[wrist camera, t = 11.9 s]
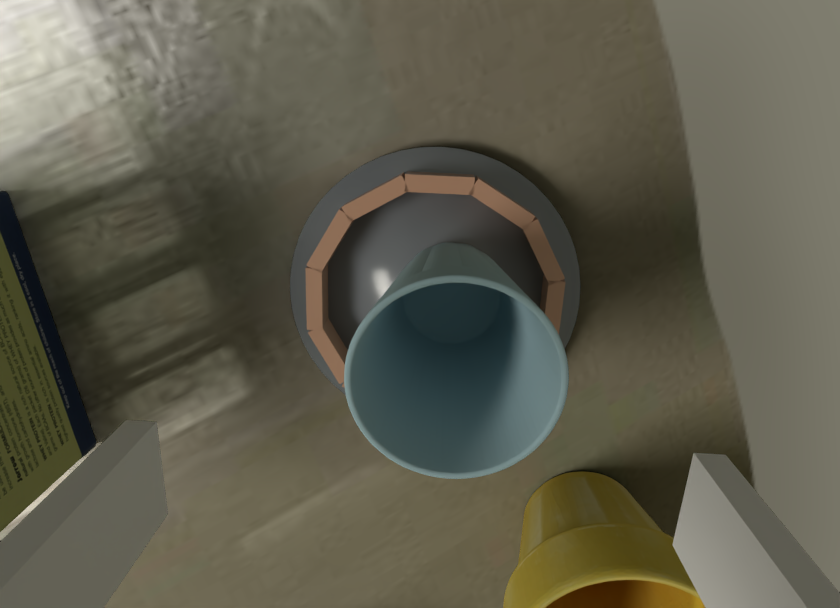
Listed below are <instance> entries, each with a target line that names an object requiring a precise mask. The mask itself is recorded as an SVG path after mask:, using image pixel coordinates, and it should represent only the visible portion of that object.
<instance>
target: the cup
mask: <svg viewBox="0 0 840 608" xmlns="http://www.w3.org/2000/svg"><path fill="white" fill-rule="evenodd" d="M568 382H569V373H568V362H567V356H566V353H565V349H564V347H563V344H562V341H561V339H560V336H559V334H558V332H557V330H556V329H555V327H554V325H553V324H552V322H551V321H550V320H549V318H548V317H547V316H546V315H545V313H544V312H543V311H542V310H541V309H540V308H539V307H538V306H537V305H536V304H535V303H534V302H533V301H532V300H531V299H530V298H529V297H528V296H527V295H526V294H525V293H524V292H523V291H522V290H521V289H520V288H519V286H518V285H517V284H516V283H515V282H514V281H513V280H512V279H511V278H510V277H509V276H508V275H507V274H506V273H505V272H504V271H503V270H502V269H501V268H500V267H499V266H498V265H497V264H496V262H495V261H494V260H492V259H491V258H490V257H489V256H488V255H487V254H485V253H484V252H482V251H480V250H478V249H476V248H475V247H473V246H471V245H468V244H463V243H452V242H445V243H440V244H437V245H435V246H432V247H429V248H426V249H424V250H422V251H421V252H419V253H418V254H417V255H416V256H415V257H414V259H413V260H412V261H410V262H409V263H408V264H407V266H406V267H405V268H404V269H403V270H402V272H401V273H400V274H399V276H398V277H397V278H396V279H395V281H394V282H393V283H392V284H391V286H390V287H389V288H388V289H387V291H386V292H385V293H384V295H383V296H382V297H381V298H380V299H379V300H378V302H377V303H376V304H375V305H374V307H373V308H372V309H371V310H370V312H369V313H368V314H367V315H366V317H365V318H364V319H363V321H362V322H361V324H360V325H359V327H358V328H357V330H356V332H355V334H354V336H353V338H352V340H351V343H350V345H349V349H348V352H347V356H346V361H345V369H344V386H345V393H346V398H347V402H348V405H349V408H350V411H351V413H352V416H353V418H354V420H355V422H356V424H357V425H358V427H359V428H360V430H361V431H362V433H363V434H364V436H365V437H366V438H367V439H368V440H369V442H370V443H371V444H372V445H373V446H374V447H375V448H377V449H378V450H379V451H380V452H381V453H382V454H384V455H385V456H386V457H388V458H389V459H391V460H392V461H394V462H395V463H397V464H399V465H401V466H403V467H405V468H407V469H409V470H412V471H415V472H418V473H421V474H424V475H428V476H433V477H438V478H448V479H463V478H474V477H480V476H484V475H488V474H492V473H495V472H498V471H501V470H503V469H505V468H508V467H510V466H512V465H514V464H516V463H517V462H519V461H520V460H522V459H524V458H525V457H526V456H528V455H529V454H530V453H532V452H533V451H534V450H535V449H536V448H537V447H538V446H539V445H540V444H541V443H542V442H543V441H544V440H545V439H546V438H547V436H548V435H549V434H550V432H551V431H552V429H553V428H554V426H555V425H556V423H557V421H558V419H559V417H560V415H561V413H562V410H563V408H564V404H565V401H566V397H567V391H568Z"/></svg>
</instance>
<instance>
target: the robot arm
mask: <svg viewBox="0 0 840 608" xmlns="http://www.w3.org/2000/svg"><path fill="white" fill-rule="evenodd" d="M167 515H168V509H167V501H166V493H165V485H164V477H163V469H162V461H161V452H160V444H159V436H158V428H157V422H153V421H136V420H126V421H125V422H123V423H122V424H121V425H120V426H119V427H118V428H117V429H116V430H115V431H114V432H113V433H112V434H111V435H110V436H109V437H108V438H107V439H106V440H105V441H104V442H103V443H102V444H101V445H100V446H99V447H98V448H97V449H96V450H95V451H94V452H92V453H91V454H90V455H89V456H88V457H87V458H86V459H85V460H84V461H83V462H82V463H81V464H80V465H79V466H78V467H77V468H76V469H75V470H74V471H73V472H72V473H71V474H70V475H69V476H68V477H67V478H66V479H65V480H64V481H63V482H62V483H60V484H59V485H58V486H57V487H56V488H55V489H54V490H53V491H52V492H51V493H50V494H49V495H48V496H47V497H46V498H45V499H44V500H43V501H42V502H41V503H40V504H39V505H38V506H37V507H36V508H35V509H34V510H33V511H32V512H31V513H29V514H28V515H27V516H26V517H25V518H24V519H23V520H22V521H21V522H20V523H19V524H18V525H17V526H16V527H15V528H14V529H13V530H12V531H11V532H10V533H9V534H8V535H7V536H6V537H5V538H4V539H3V540H2V541H0V608H104V607H105V605H106V604H107V602H108V601H109V599H110V598H111V596H112V595H113V593H114V592H115V591H116V589H117V588H118V586H119V585H120V583H121V582H122V580H123V579H124V577H125V576H126V575H127V573H128V572H129V570H130V569H131V567H132V566H133V564H134V563H135V561H136V560H137V559H138V557H139V556H140V554H141V553H142V551H143V550H144V548H145V547H146V545H147V544H148V542H149V541H150V540H151V538H152V537H153V535H154V534H155V532H156V531H157V529H158V528H159V526H160V525H161V524H162V522H163V521H164V519H165V518H166V516H167ZM672 545H673V547H674V549H675V551H676V553H677V555H678V557H679V559H680V561H681V562H682V564H683V566H684V568H685V570H686V572H687V574H688V576H689V578H690V579H691V581H692V583H693V585H694V587H695V589H696V591H697V593H698V595H699V596H700V598H701V600H702V602H703V604H704V606H705V608H840V592H838V590H837V589H836V588H835V587H834V585H833V584H832V583H831V582H830V581H829V579H828V578H827V577H826V576H825V575H824V573H823V572H822V571H821V570H820V569H819V567H818V566H817V565H816V564H815V562H814V561H813V560H812V559H811V558H810V556H809V555H808V554H807V553H806V552H805V550H804V549H803V548H802V547H801V546H800V544H799V543H798V542H797V541H796V539H795V538H794V537H793V536H792V535H791V533H790V532H789V531H788V530H787V528H786V527H785V526H784V525H783V524H782V522H781V521H780V520H779V519H778V518H777V516H776V515H775V514H774V513H773V511H772V510H771V509H770V508H769V507H768V505H767V504H766V503H765V502H764V501H763V499H762V498H761V497H760V496H759V494H758V493H757V492H756V491H755V490H754V488H753V487H752V486H751V485H750V484H749V482H748V481H747V480H746V479H745V478H744V476H743V475H742V474H741V473H740V471H739V470H738V469H737V468H736V467H735V465H734V464H733V463H732V462H731V461H730V459H729V458H728V457H727V456H726V455H723V454H706V453H693V457H692V462H691V466H690V470H689V475H688V479H687V484H686V488H685V492H684V497H683V501H682V505H681V510H680V514H679V518H678V523H677V527H676V531H675V536H674V540H673V544H672Z"/></svg>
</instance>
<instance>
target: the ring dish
mask: <svg viewBox="0 0 840 608" xmlns="http://www.w3.org/2000/svg"><path fill="white" fill-rule="evenodd" d="M445 242H452V243H463V244H468V245H471V246H473V247H475V248H476V249H478V250H480V251H482V252H484V253H485V254H487V255H488V256H489V257H490V258H491V259H492V260H494V261H495V262H496V264H497V265H498V266H499V267H500V268H501V269H502V270H503V271H504V272H505V273H506V274H507V275H508V276H509V277H510V278H511V279H512V280H513V281H514V282H515V283H516V284H517V285H518V286H519V288H520V289H521V290H522V291H523V292H524V293H525V294H526V295H527V296H528V297H529V298H530V299H531V300H532V301H533V302H534V303H535V304H536V305H537V306H538V307H539V308H540V309H541V310H542V311H543V312H544V313H545V315H546V316H547V317H548V318H549V320H550V321H551V322H552V324H553V325H554V327H555V329H556V330H557V332H558V334H559V336H560V339H561V341H562V344H563V347H564V349H565V347H566V346H567V344H568V342H569V340H570V337H571V334H572V331H573V328H574V326H575V323H576V318H577V313H578V308H579V301H580V287H581V286H580V272H579V265H578V260H577V255H576V251H575V247H574V245H573V242H572V239H571V237H570V234H569V231H568V229H567V228H566V226H565V224H564V222H563V220H562V218H561V216H560V215H559V213H558V212H557V210H556V209H555V208H554V206H553V205H552V204H551V202H550V201H549V199H548V198H547V197H546V196H545V195H544V194H543V193H542V192H541V191H540V190H539V189H538V188H537V187H536V186H535V185H534V184H533V183H531V182H530V181H529V180H528V179H526V178H525V177H524V176H522V175H521V174H520V173H519V172H517V171H516V170H514V169H512V168H511V167H509V166H507V165H505V164H504V163H502V162H500V161H498V160H496V159H493V158H491V157H488V156H486V155H483V154H481V153H477V152H473V151H469V150H465V149H461V148H452V147H443V146H433V147H417V148H411V149H404V150H400V151H397V152H393V153H390V154H387V155H383V156H381V157H379V158H377V159H375V160H372V161H370V162H368V163H366V164H364V165H362V166H361V167H359V168H358V169H356V170H354V171H353V172H351V173H350V174H348V175H347V176H345V177H344V178H343V179H342V180H341V181H339V182H338V183H337V184H336V185H335V186H334V187H332V188H331V189H330V190H329V191H328V193H327V194H326V195H325V196H324V197H323V198H322V199H321V200H320V202H319V203H318V204H317V206H316V207H315V209H314V210H313V212H312V213H311V215H310V216H309V218H308V219H307V221H306V223H305V225H304V227H303V230H302V232H301V234H300V236H299V239H298V242H297V245H296V248H295V251H294V255H293V261H292V267H291V276H290V295H291V305H292V310H293V315H294V319H295V323H296V326H297V329H298V332H299V334H300V337H301V339H302V342H303V344H304V346H305V347H306V349H307V351H308V353H309V355H310V357H311V358H312V359H313V361H314V362H315V364H316V365H317V367H318V368H319V369H320V371H321V372H322V373H323V374H324V375H325V376H326V377H327V378H328V379H329V381H330V382H331V383H332V384H333V385H334V386H336V387H337V388H338V389H339V390H340V391H342V392H343V393H344V394H345V395H346V393H345V386H344V369H345V361H346V356H347V352H348V349H349V345H350V343H351V340H352V338H353V336H354V334H355V332H356V330H357V328H358V327H359V325H360V324H361V322H362V321H363V319H364V318H365V317H366V315H367V314H368V313H369V312H370V310H371V309H372V308H373V307H374V305H375V304H376V303H377V302H378V300H379V299H380V298H381V297H382V296H383V295H384V293H385V292H386V291H387V289H388V288H389V287H390V286H391V284H392V283H393V282H394V281H395V279H396V278H397V277H398V276H399V274H400V273H401V272H402V270H403V269H404V268H405V267H406V266H407V264H408V263H409V262H410V261H412V260H413V259H414V257H415V256H416V255H417V254H418V253H419V252H421V251H422V250H424V249H426V248H429V247H432V246H435V245H437V244H440V243H445Z"/></svg>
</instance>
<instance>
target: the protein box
mask: <svg viewBox="0 0 840 608" xmlns="http://www.w3.org/2000/svg"><path fill="white" fill-rule="evenodd" d="M95 445H96V439H95V437H94V434H93V431H92V428H91V426H90V423H89V420H88V417H87V414H86V411H85V409H84V406H83V403H82V401H81V398H80V395H79V392H78V389H77V386H76V383H75V380H74V378H73V375H72V372H71V369H70V366H69V363H68V360H67V357H66V354H65V352H64V349H63V346H62V343H61V341H60V338H59V335H58V332H57V329H56V326H55V323H54V321H53V318H52V315H51V312H50V309H49V307H48V304H47V301H46V298H45V296H44V293H43V290H42V287H41V284H40V282H39V279H38V276H37V273H36V270H35V267H34V265H33V262H32V259H31V256H30V253H29V251H28V248H27V245H26V242H25V239H24V236H23V234H22V231H21V228H20V225H19V222H18V220H17V217H16V214H15V211H14V209H13V206H12V203H11V200H10V198H9V195H8V193H7V192H5V191H0V532H1V531H2V530H3V529H4V528H5V527H6V526H7V525H8V524H9V523H10V522H12V521H13V520H14V519H15V518H16V517H17V516H18V515H19V514H20V513H21V512H22V511H23V510H25V509H26V508H27V507H28V506H29V505H30V504H31V503H32V502H33V501H34V500H36V499H37V498H38V497H39V496H40V495H41V494H42V493H43V492H44V491H45V490H46V489H48V488H49V487H50V486H51V485H52V484H53V483H54V482H55V481H56V480H57V479H59V478H60V477H61V476H62V475H63V474H64V473H65V472H66V471H67V470H68V469H69V468H70V467H72V466H73V465H74V464H75V463H76V462H77V461H78V460H79V459H81V458H82V457H83V456H85V455H86V454H87V453H88V452H89V451H90V450H91V449H93V448H94V447H95Z"/></svg>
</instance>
